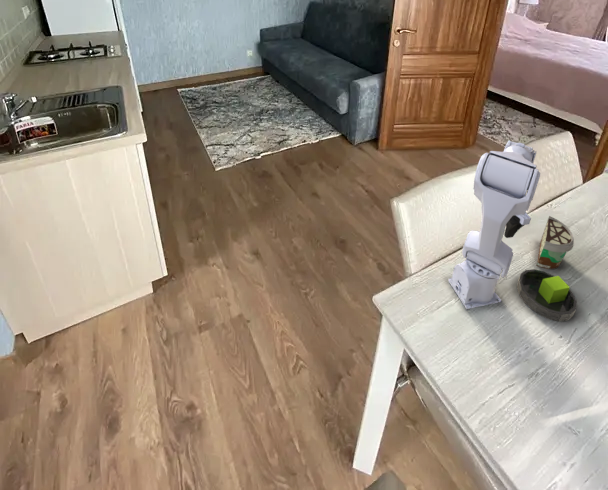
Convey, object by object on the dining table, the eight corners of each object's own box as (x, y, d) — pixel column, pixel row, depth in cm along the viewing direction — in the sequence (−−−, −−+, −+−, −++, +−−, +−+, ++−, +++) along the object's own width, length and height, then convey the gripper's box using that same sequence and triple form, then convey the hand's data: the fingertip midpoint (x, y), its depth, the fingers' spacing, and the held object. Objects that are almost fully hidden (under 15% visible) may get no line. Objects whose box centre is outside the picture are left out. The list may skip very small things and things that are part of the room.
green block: (548, 303, 83) (554, 290, 81) (538, 291, 86) (543, 278, 84) (564, 300, 84) (570, 287, 82) (553, 288, 87) (558, 275, 85)
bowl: (571, 333, 77) (575, 324, 76) (512, 302, 84) (515, 293, 82) (574, 295, 85) (578, 287, 84) (520, 269, 92) (523, 261, 91)
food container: (563, 283, 88) (575, 254, 85) (535, 270, 92) (545, 242, 88) (565, 251, 97) (576, 224, 94) (539, 241, 101) (549, 214, 97)
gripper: (546, 202, 83) (532, 244, 88) (503, 166, 96) (492, 205, 101) (521, 206, 82) (508, 248, 87) (481, 169, 95) (471, 208, 100)
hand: (498, 225), depth 94 cm, fingers open, 7 cm apart
